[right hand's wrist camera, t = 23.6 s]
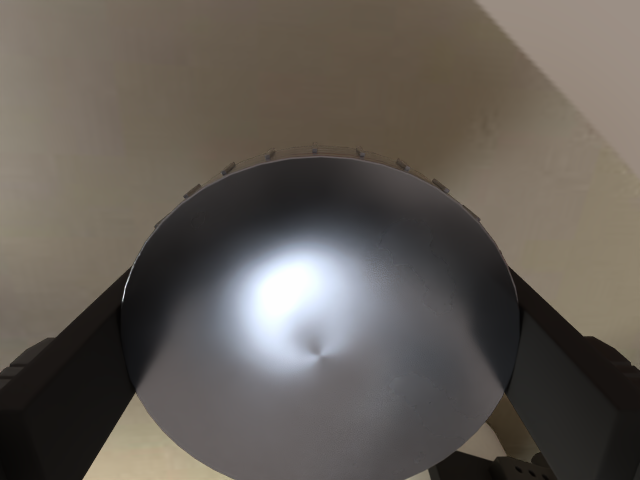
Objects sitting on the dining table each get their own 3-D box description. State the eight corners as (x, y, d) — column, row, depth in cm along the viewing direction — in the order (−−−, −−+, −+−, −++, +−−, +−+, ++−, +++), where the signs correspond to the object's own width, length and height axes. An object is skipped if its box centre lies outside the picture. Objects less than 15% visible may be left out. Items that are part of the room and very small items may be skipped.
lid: (361, 50, 9) (369, 43, 8) (558, 350, 12) (592, 386, 11) (67, 291, 12) (29, 322, 10) (293, 496, 14) (290, 543, 13)
